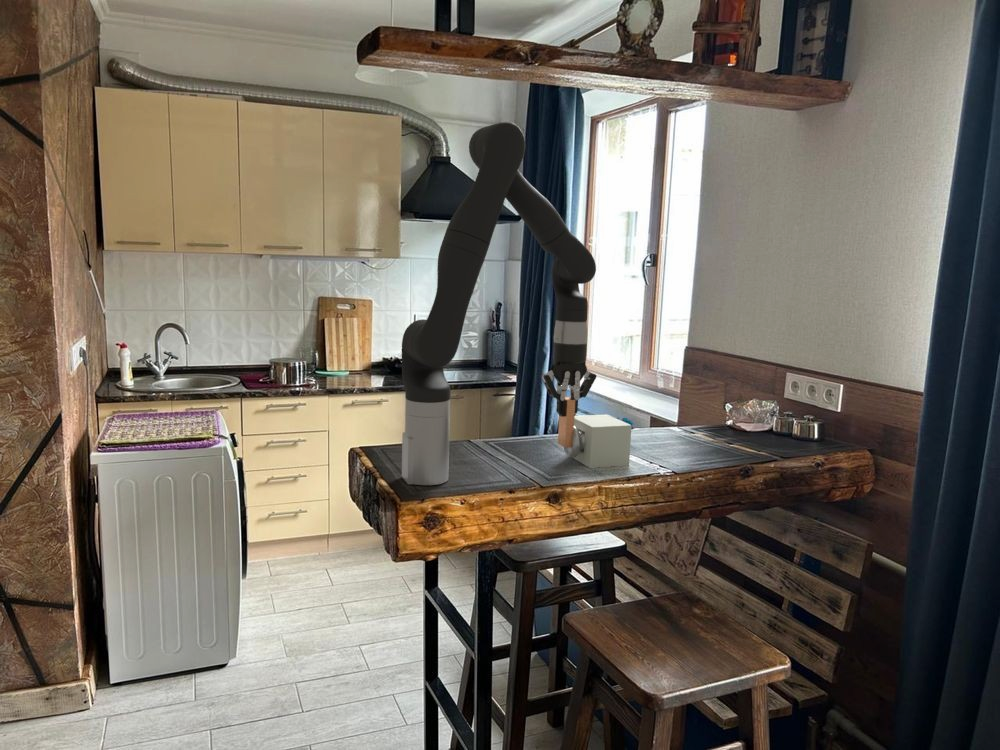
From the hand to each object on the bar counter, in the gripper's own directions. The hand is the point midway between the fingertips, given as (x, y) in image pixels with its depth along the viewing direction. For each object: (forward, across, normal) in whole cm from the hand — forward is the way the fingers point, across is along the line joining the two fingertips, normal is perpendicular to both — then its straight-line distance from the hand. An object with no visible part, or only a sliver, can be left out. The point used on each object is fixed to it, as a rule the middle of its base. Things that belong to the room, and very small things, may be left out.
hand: (566, 415), depth 170 cm
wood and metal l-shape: (+10, +4, 0) cm, 10 cm away
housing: (+11, +9, 0) cm, 14 cm away
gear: (+11, +19, +14) cm, 26 cm away
